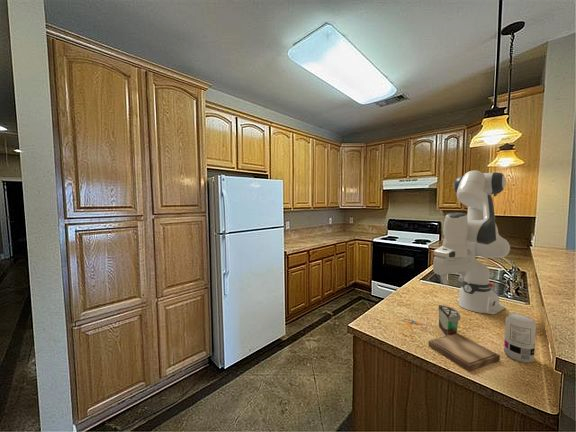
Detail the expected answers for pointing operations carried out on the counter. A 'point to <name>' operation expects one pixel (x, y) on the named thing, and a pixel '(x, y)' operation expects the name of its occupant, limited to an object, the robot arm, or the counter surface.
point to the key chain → (415, 323)
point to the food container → (448, 320)
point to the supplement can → (520, 337)
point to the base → (464, 351)
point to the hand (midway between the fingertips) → (453, 282)
